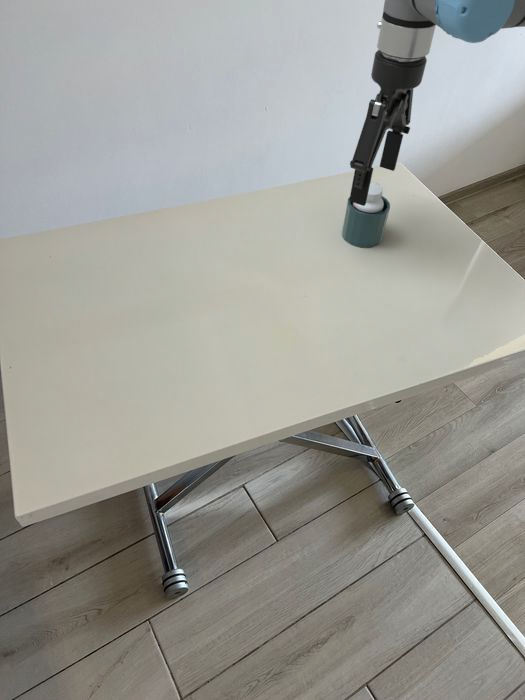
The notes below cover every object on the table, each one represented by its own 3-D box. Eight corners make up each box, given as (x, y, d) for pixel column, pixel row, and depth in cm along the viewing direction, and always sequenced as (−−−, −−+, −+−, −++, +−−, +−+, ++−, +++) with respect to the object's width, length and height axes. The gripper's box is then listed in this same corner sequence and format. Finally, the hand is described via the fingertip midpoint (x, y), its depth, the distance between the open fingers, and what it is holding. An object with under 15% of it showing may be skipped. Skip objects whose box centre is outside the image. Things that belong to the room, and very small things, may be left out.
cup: (387, 232, 102) (396, 200, 96) (372, 252, 97) (380, 220, 92) (351, 219, 104) (357, 187, 99) (335, 238, 100) (340, 206, 94)
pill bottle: (342, 227, 101) (351, 181, 94) (368, 223, 103) (378, 178, 95) (354, 244, 98) (364, 198, 91) (380, 240, 99) (392, 194, 92)
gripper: (406, 24, 85) (379, 149, 101) (342, 74, 71) (322, 211, 86) (452, 34, 83) (417, 160, 99) (395, 88, 68) (364, 226, 84)
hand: (372, 184), depth 93 cm, fingers open, 13 cm apart
